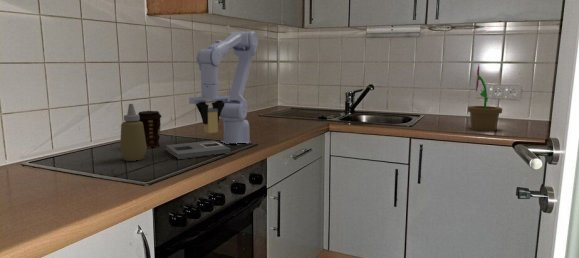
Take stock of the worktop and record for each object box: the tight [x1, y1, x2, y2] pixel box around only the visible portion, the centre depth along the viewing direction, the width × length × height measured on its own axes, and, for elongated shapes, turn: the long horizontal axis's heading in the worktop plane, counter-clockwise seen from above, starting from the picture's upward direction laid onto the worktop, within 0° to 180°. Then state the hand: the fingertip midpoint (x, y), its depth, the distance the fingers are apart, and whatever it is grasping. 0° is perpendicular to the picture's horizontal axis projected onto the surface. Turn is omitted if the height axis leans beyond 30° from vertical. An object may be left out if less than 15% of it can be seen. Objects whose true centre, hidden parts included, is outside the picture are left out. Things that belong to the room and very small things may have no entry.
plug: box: [203, 107, 219, 134], centre depth 146 cm, size 4×4×8 cm
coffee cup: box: [137, 110, 163, 149], centre depth 153 cm, size 9×8×13 cm
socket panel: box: [165, 139, 232, 159], centre depth 145 cm, size 18×16×2 cm
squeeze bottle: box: [119, 103, 148, 162], centre depth 133 cm, size 8×8×18 cm
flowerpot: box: [467, 64, 503, 132], centre depth 191 cm, size 14×14×30 cm
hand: (210, 123), depth 146 cm, fingers closed on plug, 4 cm apart
